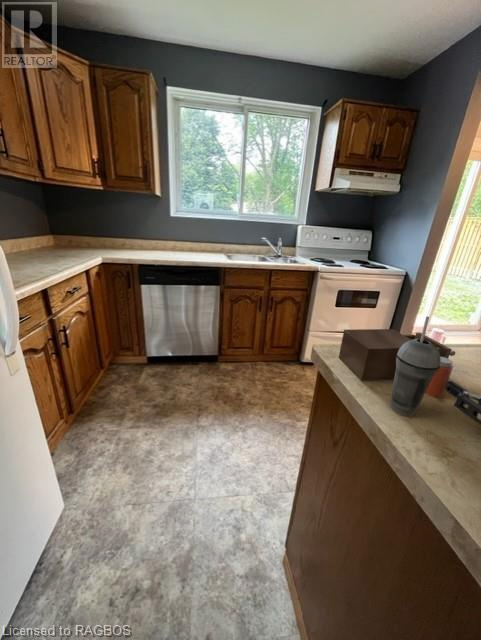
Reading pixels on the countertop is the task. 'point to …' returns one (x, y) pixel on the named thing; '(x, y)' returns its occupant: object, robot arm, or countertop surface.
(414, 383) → the beverage cup
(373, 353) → the dark brown wooden box
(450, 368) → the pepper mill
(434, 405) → the countertop surface
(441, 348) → the dark brown angular piece
